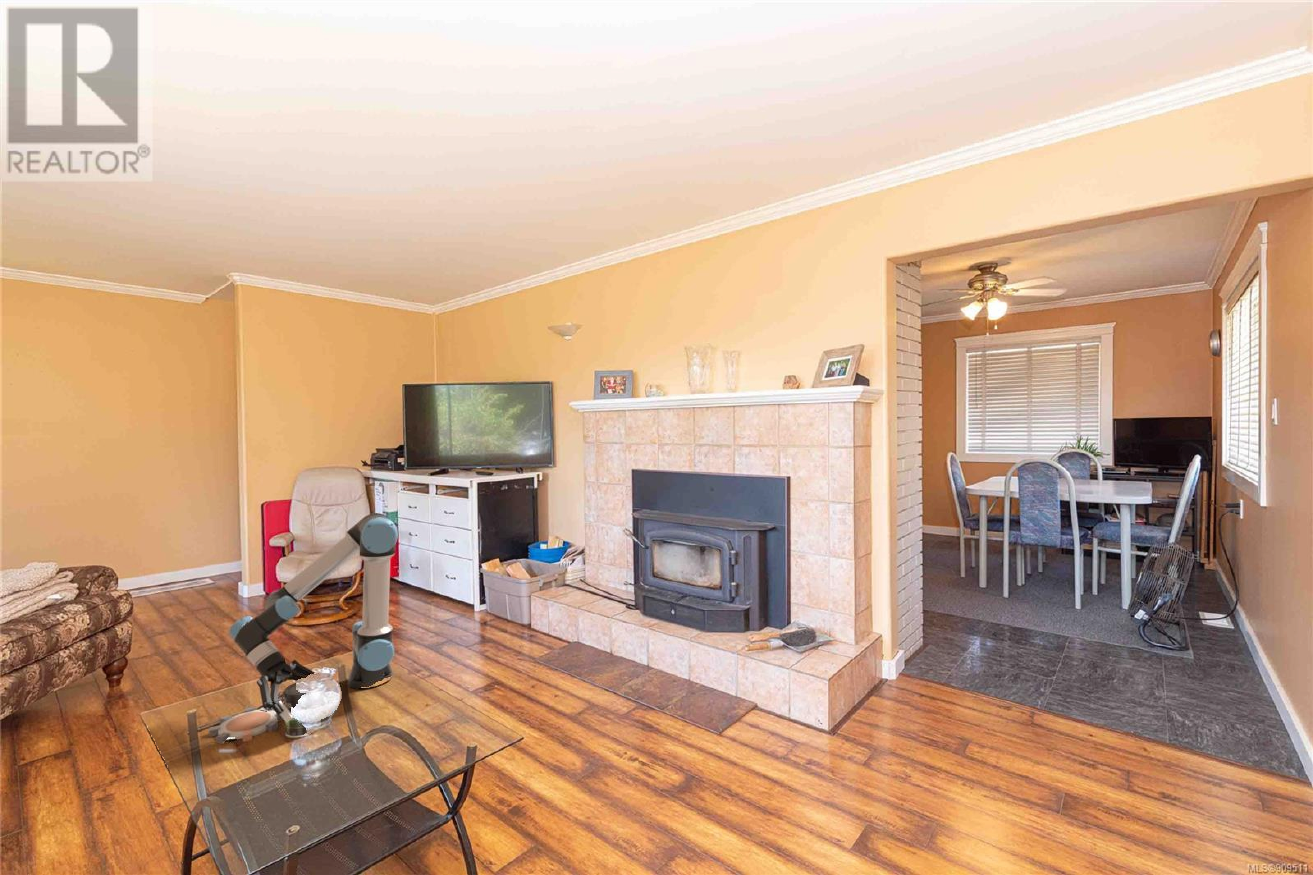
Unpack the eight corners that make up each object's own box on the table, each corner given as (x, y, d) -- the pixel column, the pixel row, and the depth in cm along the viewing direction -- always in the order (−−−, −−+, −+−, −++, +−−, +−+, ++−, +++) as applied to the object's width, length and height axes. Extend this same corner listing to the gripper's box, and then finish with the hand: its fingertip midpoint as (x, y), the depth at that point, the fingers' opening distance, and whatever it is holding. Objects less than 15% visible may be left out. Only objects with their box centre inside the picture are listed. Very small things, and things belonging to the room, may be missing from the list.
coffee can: (288, 742, 184) (287, 697, 183) (282, 728, 192) (281, 686, 191) (325, 730, 191) (324, 687, 190) (318, 718, 199) (317, 676, 198)
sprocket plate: (212, 721, 196) (212, 715, 196) (285, 704, 207) (284, 699, 207) (206, 751, 179) (206, 744, 179) (286, 731, 190) (286, 725, 190)
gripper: (291, 651, 206) (329, 698, 203) (225, 683, 182) (267, 737, 179) (304, 637, 205) (342, 684, 202) (239, 667, 180) (282, 721, 178)
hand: (307, 709), depth 191 cm, fingers open, 13 cm apart
